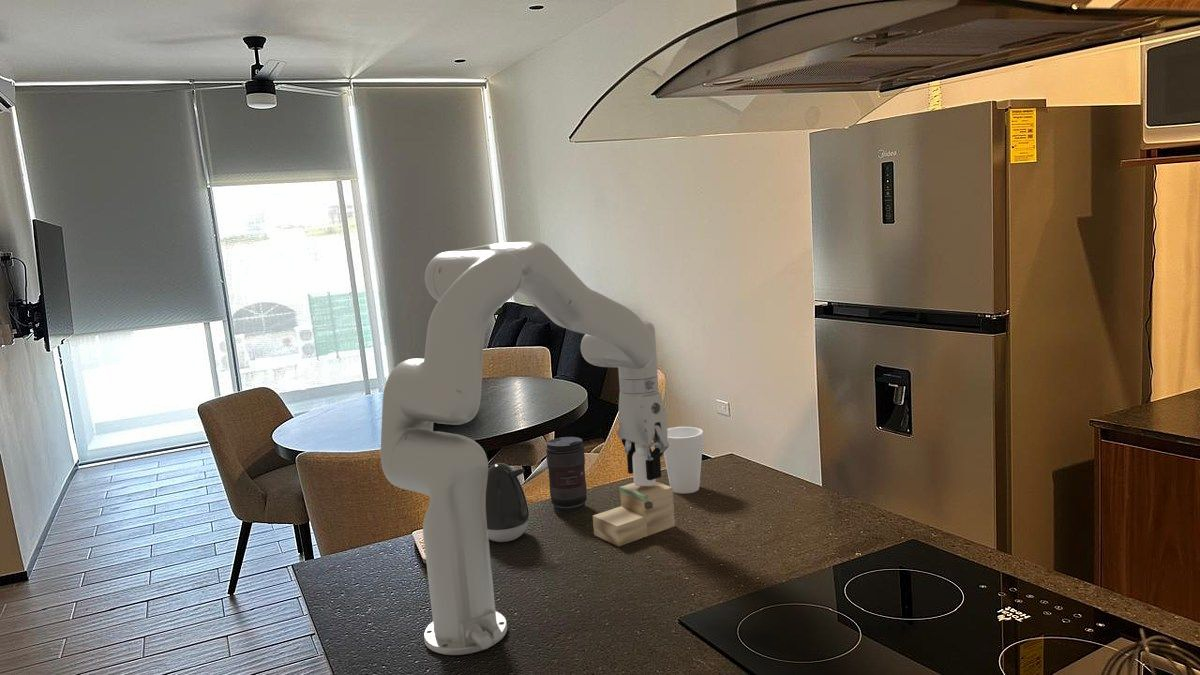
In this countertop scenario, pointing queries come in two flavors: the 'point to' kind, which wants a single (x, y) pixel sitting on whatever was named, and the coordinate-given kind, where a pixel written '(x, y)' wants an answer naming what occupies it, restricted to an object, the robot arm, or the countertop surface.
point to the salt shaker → (640, 466)
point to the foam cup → (684, 458)
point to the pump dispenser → (505, 504)
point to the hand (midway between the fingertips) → (644, 474)
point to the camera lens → (567, 474)
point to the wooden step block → (636, 514)
